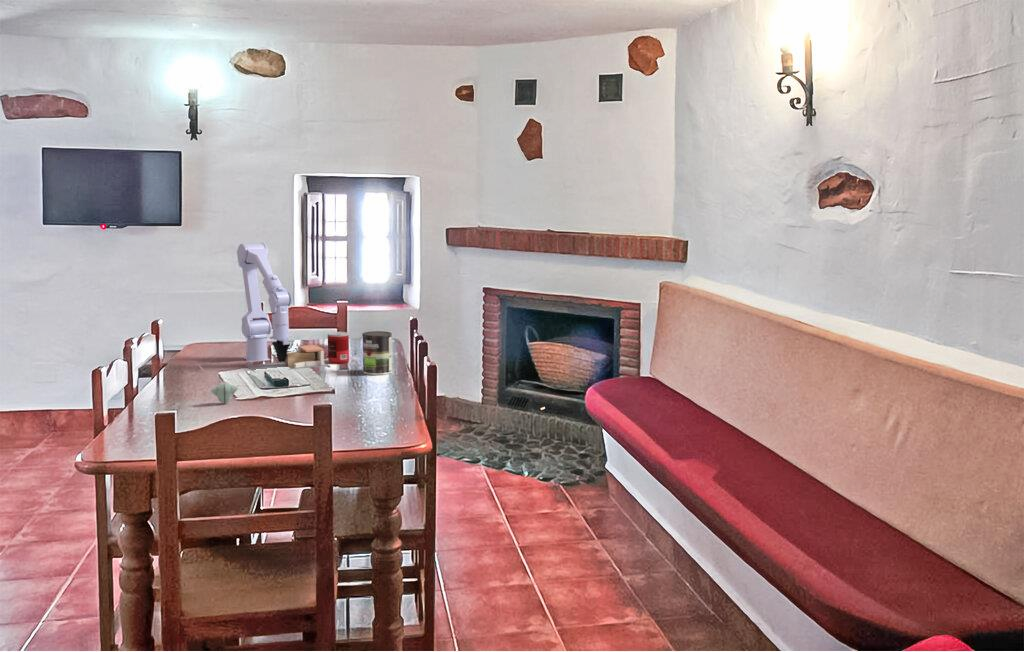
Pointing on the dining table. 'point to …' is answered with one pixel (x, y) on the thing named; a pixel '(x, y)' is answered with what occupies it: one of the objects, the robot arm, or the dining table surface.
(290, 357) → the tan cardboard block
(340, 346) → the canned food
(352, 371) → the dining table surface
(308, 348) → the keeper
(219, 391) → the pale green angular piece
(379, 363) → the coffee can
